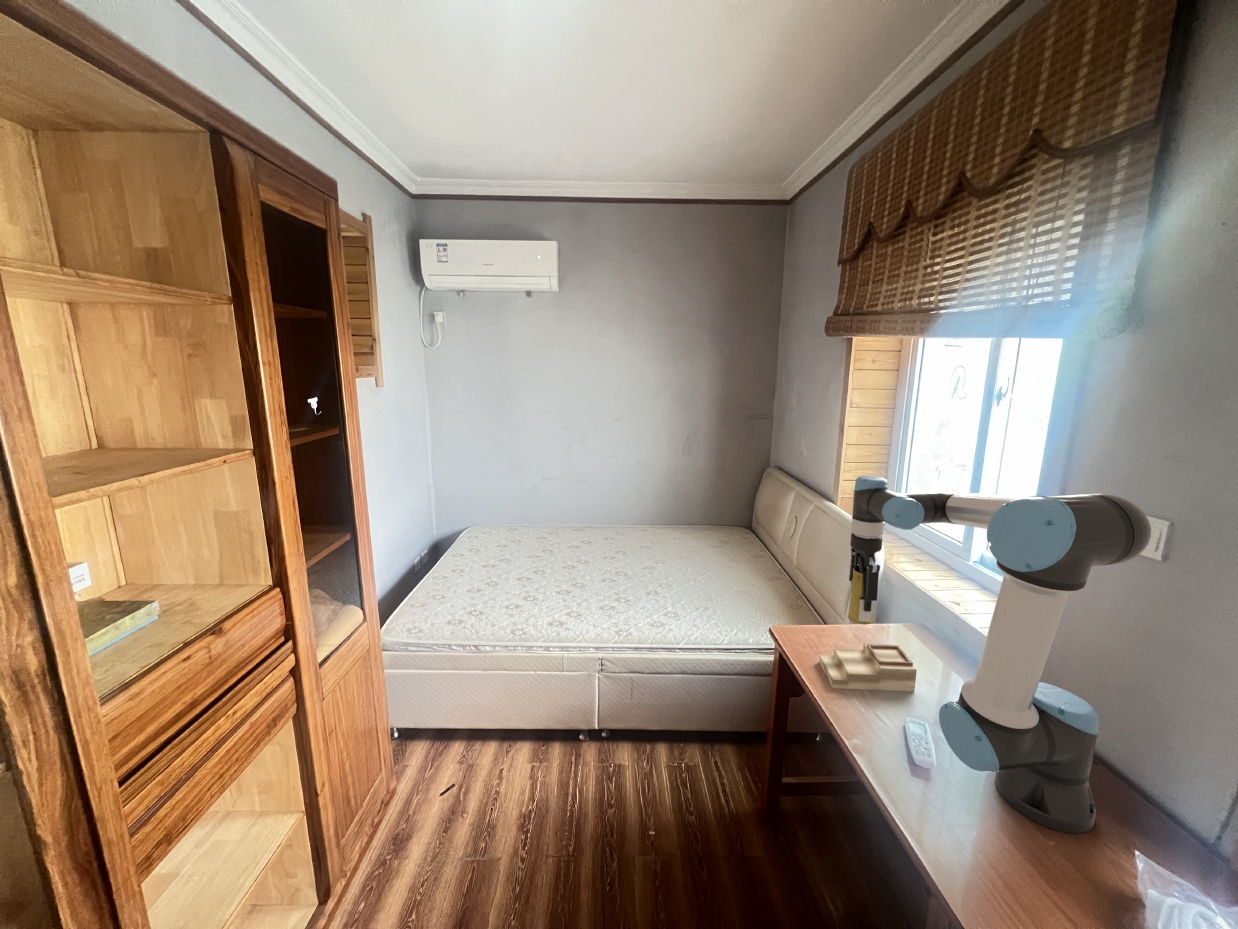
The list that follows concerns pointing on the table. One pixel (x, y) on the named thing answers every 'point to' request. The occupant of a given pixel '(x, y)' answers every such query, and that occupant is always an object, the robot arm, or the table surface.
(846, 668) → the step stand
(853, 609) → the vase
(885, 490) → the robot arm
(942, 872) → the table surface
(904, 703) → the table surface
